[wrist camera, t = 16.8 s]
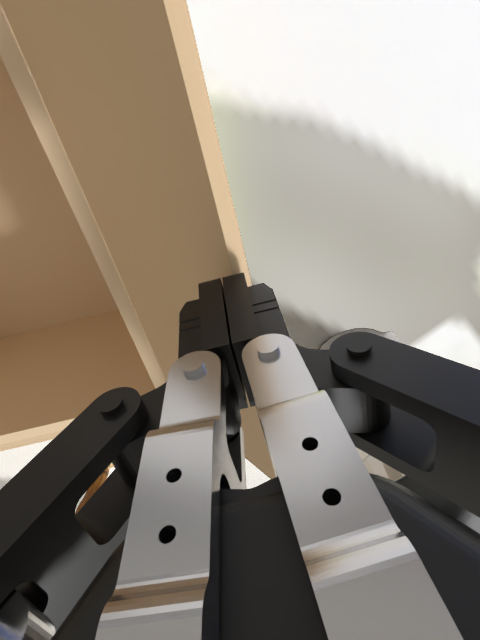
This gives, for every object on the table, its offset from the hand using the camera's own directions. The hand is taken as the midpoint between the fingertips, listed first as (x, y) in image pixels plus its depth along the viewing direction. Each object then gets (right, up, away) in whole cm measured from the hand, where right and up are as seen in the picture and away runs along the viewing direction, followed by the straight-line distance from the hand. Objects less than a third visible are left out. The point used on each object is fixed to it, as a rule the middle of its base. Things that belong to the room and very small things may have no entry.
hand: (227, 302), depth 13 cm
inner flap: (-3, +2, +4) cm, 5 cm away
